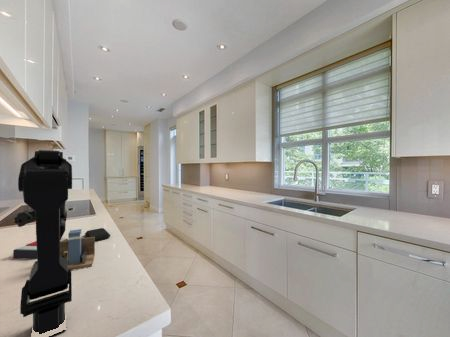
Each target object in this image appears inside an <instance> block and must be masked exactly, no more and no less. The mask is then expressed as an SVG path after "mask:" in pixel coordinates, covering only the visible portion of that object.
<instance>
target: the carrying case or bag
mask: <svg viewBox="0 0 450 337" xmlns="http://www.w3.org/2000/svg"><path fill="white" fill-rule="evenodd" d="M84 236H85V238H88V237H95V242H101V241H104V240H105V241H106V240H108V239H109V238H110V237H111V234H110V233H109V232H108V231H107V230H106V229H105V228H103V227H100V228H94V229H88V230H87V231H86V232H85V233H84Z"/></svg>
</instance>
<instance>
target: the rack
mask: <svg viewBox="0 0 450 337" xmlns="http://www.w3.org/2000/svg"><path fill="white" fill-rule="evenodd" d="M95 245H96V241H95V237H88V238H86V237H83V238H82V237H81V261H80V263H76V264H71V265H68V270H69V269H71V271H74V269H76V270H79V269H78V268H81V269H85V268H84V267H86V268H90V267H89V266H91V267H93V265H94V264H93V263H94V259H95V256H96V255H95V252H96V251H95V250H96V248H95V247H96V246H95ZM60 255H61V256H63V255H65V256H66V257H67V261H68V240H67V241H60ZM92 264H93V265H92Z"/></svg>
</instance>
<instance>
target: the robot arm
mask: <svg viewBox="0 0 450 337" xmlns="http://www.w3.org/2000/svg"><path fill="white" fill-rule="evenodd" d="M63 154H64V152H63V151H60V150H49V149H48V150H46V149H44V150H43V149H40V150H35V152H34V156H33V157H32V158H30V159H28V160H26V161H25V162H23V163H22V164H21V165H20V169H19V173H18V179H17V180H18V181H17V182H18V183H17V186H18V192H22V195H23V196H22V197H23V202H24V203H25V205H27V206H28V207H29V208H30V209H28V210H23V211H22V212H18V213H17V214H15V215H14V216H13V219H14V222H13V223H14V224H17V227H18V228H21V227H23V226H25V225H27V224H30V223H33V222H35V235H36V236H35V238H36V240H35V241H37V259H36V261H35V262H34V263H33V265H32V267H31V268H30V269H31V270H30V274H29V275H30V276H29V279H27V280H25V284H24V285H23V287H21V293H20V294H21V295H20V305H19V306H20V308H19V309H20V311H19V312H20V315H22V317H23V318H26V317H28V316H30V315H32V325H33V330H34V331H35V332H39V334H42V333H45V332H47V331H50V330H53V329H56V328H58V327H59V325H60V324H62V323H63V322H64V320H65V313H66V303H70V302H72V301H73V300H72V297H73V296H72V291H73V290H72V288H73V287H72V285H73V284H72V283H73V282H72V270H71V269H69V270H68V261H67V257H66V256H65V255H63V256H61V255H60V240H61V238H63V236H64V234H65V233H66V232H65V231H66V226H67V225H66V221H67V218H68V211H67V210H66V202H67V201H68V200H69V190H72V189H73V167H72V164H71V163H70V162H69V160H67V159H66V158H65V157H64V155H63ZM67 289H68V290H67ZM65 290H66V291H65Z"/></svg>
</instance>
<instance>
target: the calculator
mask: <svg viewBox="0 0 450 337" xmlns="http://www.w3.org/2000/svg"><path fill="white" fill-rule="evenodd" d="M67 240H68V238H66V237H62V238H61V240H60V241H67ZM12 252H13V253H12V259H21V258H26V259H25V260H27V259H29V260H37V241H36V240H35V241H33V242H32V241H31V242H30V243H27V244H25V245H23V246H19V247H17V248H15V249H13V250H12Z"/></svg>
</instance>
